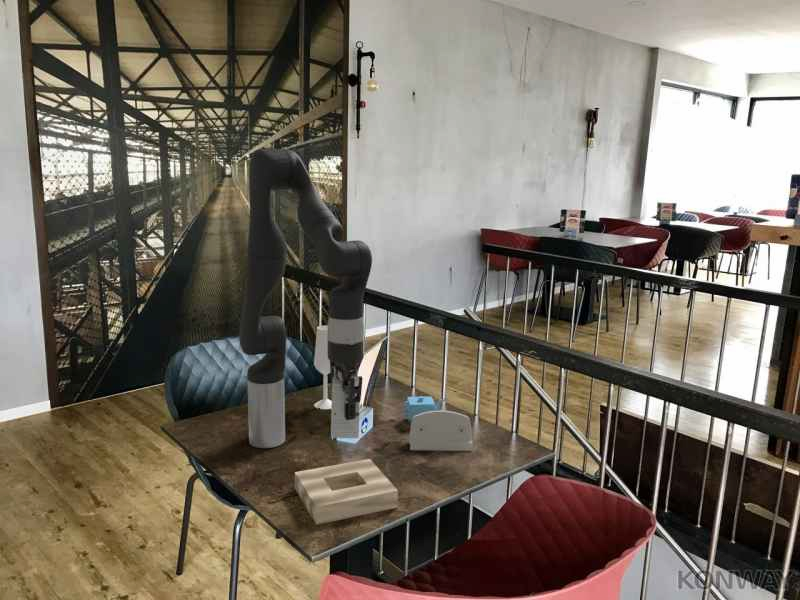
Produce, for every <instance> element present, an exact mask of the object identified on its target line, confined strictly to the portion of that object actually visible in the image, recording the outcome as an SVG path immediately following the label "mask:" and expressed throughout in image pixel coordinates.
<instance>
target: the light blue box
mask: <svg viewBox="0 0 800 600" xmlns="http://www.w3.org/2000/svg"><path fill="white" fill-rule="evenodd" d="M444 401H446V399H444V398H442V399H439V400H438V401H437V402H436V403H435V401H434V398H433V396H423V395H422V396H421V395H420V396H407V397H406V401H404V402H403V405H402V408H403V410H404V411H405V413H404V417H405V418H407V421H408V424H411V422H412V418H413V416H415V415H417V414H420V413H424V412H428V411H439V410H440V406H441V404H442V402H444Z"/></svg>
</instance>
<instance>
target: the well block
mask: <svg viewBox="0 0 800 600" xmlns="http://www.w3.org/2000/svg"><path fill="white" fill-rule="evenodd" d="M294 489H295V491H296V493H297V494H298V496H299V498H300V500H301V501H302V503H303V505H304V506H305V508H306V510H307V512H308V513H309V515H310V517H311V519H312V520H313V522H314V524H315V525H317V526H318V525H323V524H327V523H332V522H335V521H336V522H337V521H340V520H346V519H350V518H351V519H352V518H354V517H360V516H364V515H369V514H374V513H378V512H384V511H387V510H391V509H392V510H393V509H397V508H398V506H399V505H398V501H399V499H398V497H399V491H398V489H397V488H396V487H395V486H394V484H393V483H392V482H391V481H390V479H388V478H387V476H386V475H385V474H384V473H383V472H382V471H381V470H380V468H378V466H377V465H376V464H375V462H373V460H372V459H371V458H367V459H362V460H357V461H351V462H345V463H339V464H334V465H328V466H322V467H317V468H312V469H305V470H300V471H295V472H294Z"/></svg>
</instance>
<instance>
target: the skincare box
mask: <svg viewBox="0 0 800 600" xmlns="http://www.w3.org/2000/svg"><path fill="white" fill-rule="evenodd" d="M345 387H346V388H348V387H349V386H345ZM352 397H353V394H352ZM331 401H332V405H331V409H330V411H331V414H330V415H331V416H330V417H331V419H330V421H331V422H330V438H331V439H359V436H360V435H359V432H360V408H361V405H360V403H361V401H360V402H357V403H356V417H355V419H352V420H346V419H345V417H344V414H345V401H344V393H343V392H341V386H340V380H339V379H335V378H333V383H332V386H331Z"/></svg>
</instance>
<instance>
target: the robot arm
mask: <svg viewBox="0 0 800 600" xmlns="http://www.w3.org/2000/svg"><path fill="white" fill-rule="evenodd" d="M248 186H249V187H248V189H249V225H248V237H247V238H248V240H247V248H246V259H245V261H246V267H245V287H244V298H243V305H242V311H241V318H240V325H239V345H240V348H241V351H242V352H243V353H244V354H245V355H246V356H247V355H248V356H258V355H264V356H263V357H262V358H261V359H260V360H258V361H256V362H255V363H253V364H251V365H250V366H249V367H248V369H247V372H246V375H247V380H246V381H247V408H248V410H247V411H248V412H247V413H248V415H247V416H248V442H249V445H251V446H252V447H254V448H259V449H270V448H271V449H272V448H275V447H278V446H281V445H282V444H284V443H285V441H286V413H285V412H286V409H285V408H286V407H285V403H286V402H285V399H286V397H285V370H286V363H287V362H286V358H287V357H286V356H287V355H286V353H287V329H286V325H285V321H284V319H283V318H282V317H281V316H279V315H269V316H266V315H265V316H261V314H262V312H263V308H264V305H265V303H266V302H267V300H268V298H269V297H270V296H271V294H272V293H273V292H274V290H275V289H276V287H277V286H278V284H279V283H280V282H281V280H282V278H283V277H284V275H285V271H286V264H287V255H288V254H287V253H288V245H287V242H286V239H285V237H284V235H283V232H282V230H281V229H280V227H279V226H278V224H277V221H276V220H275V218H274V216H273V213H272V209H271V207H272V206H271V193H272V192H273V191H274V192H276V191H289V190H290V191H291V192H293V193H294V194H295V195H296V197H297V198H298V202H297V203H298V205H297V211H296V212H297V220H298V224H299V225H300V227H301V229H302V230H303V232H304V233H305V234H306V236H307V237H308V239H309V240H310V241H311V242H312V244H313V247H314V250H315V253H316V255H317V259H318V262H319V266H320V268H321V270H322V271H323V273H325V274H326V275H328V276H330V277H331V278H342V277H345V278H344V281H343V282H342V283H341V284H340V285H338V286H335V287H334V288H331V290H330V291H329V293H328V320H327V326H328V359H329V360H330V386H331V387H332V383H333V378H335V379H339V380H340V386H341V392H343V393H344V401H345V414H344V417H345V419H346V420H352V419H355V417H356V403H357V402H360V403H361V399H362V391H363V390H362V389H363V388H362V387H363V376H362V375H360V376H359V375H358V374H359V373H358V369H357V363H359V362H361V361H363V359H364V356H365V354H364V351H365V350H364V349H365V347H364V346H365V340H364V339H365V325H364V295H365V291H366V289H367V285H368V280H369V278H370V274H371V270H372V266H373V257H372V251H371V249H370V247H369V245H368V244H367V243H366V242H364V241H362V240H345V241H343V239H344V236H345V235H344V234H345V232H344V228H343V226H342V223H341V222H340V221H339V220H338V219H337V218H336V215H334V214H333V212H332V211H331V210H330V209H329V207H328V206H327V205H326V203H325V202H324V200H323V199H322V197H321V195H320V194H319V192H318V189H317V187H316V186H315V183H314V181H313V179H312V177H311V176H310V174H309V171H308V170H307V168H306V166H305V164H304V162H303V160H302V159H301V157H300V156H299V154H297V153H296V152H295V151H294V150H291V149H286V148H285V149H284V148H281V149H280V148H260V149H256V150H255V151H254V152H253V153H252V155H251V158H250V161H249V168H248ZM345 386H349V387H348V388H346V387H345ZM352 394H353V397H352Z"/></svg>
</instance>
